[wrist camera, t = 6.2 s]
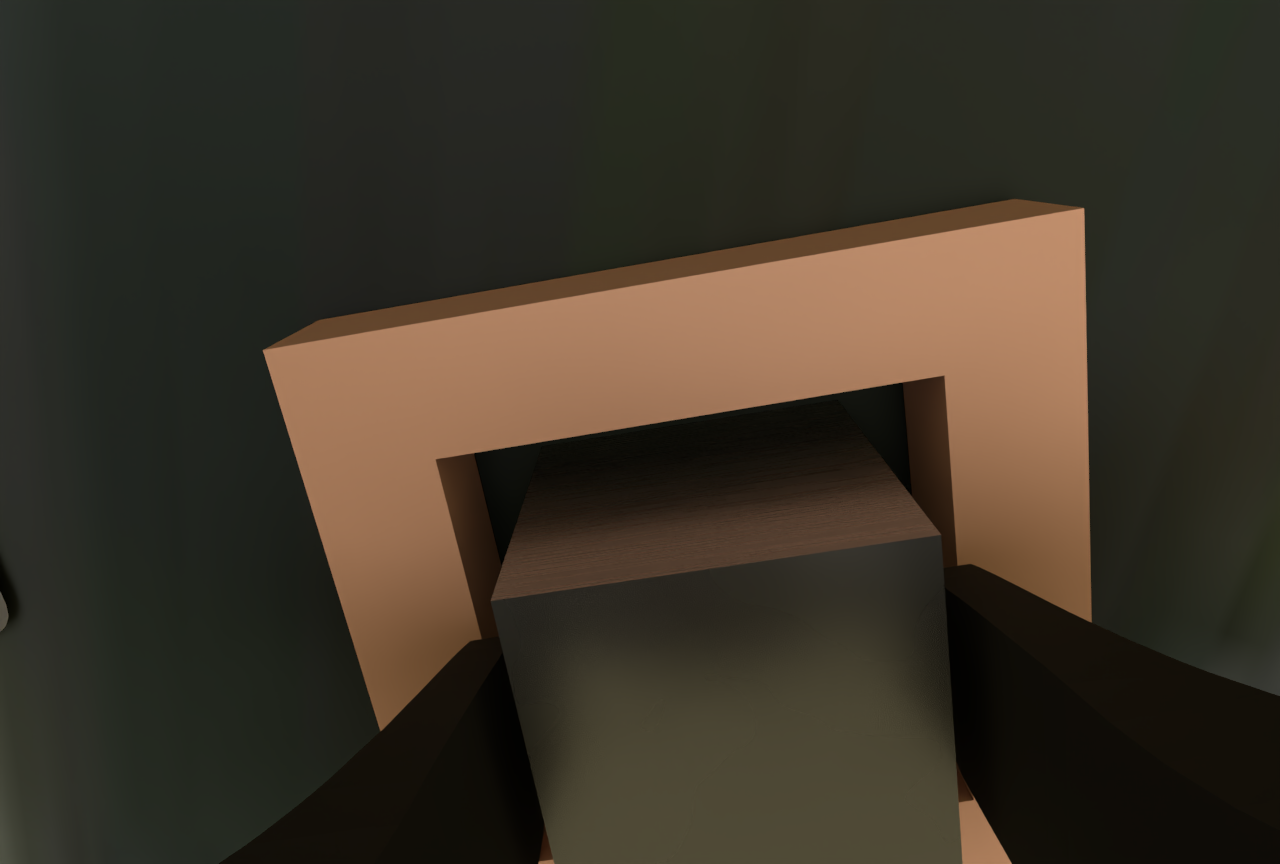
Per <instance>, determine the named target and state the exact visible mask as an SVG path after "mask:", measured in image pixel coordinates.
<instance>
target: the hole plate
mask: <svg viewBox="0 0 1280 864" xmlns="http://www.w3.org/2000/svg"><path fill="white" fill-rule="evenodd" d="M263 352H264V355H265V359H266V362H267V365H268V368H269V372H270V375H271V378H272V381H273V385H274V388H275V391H276V394H277V398H278V401H279V404H280V407H281V410H282V414H283V417H284V420H285V423H286V427H287V430H288V433H289V436H290V440H291V443H292V446H293V449H294V453H295V456H296V459H297V462H298V466H299V469H300V472H301V475H302V479H303V482H304V485H305V488H306V491H307V495H308V498H309V501H310V504H311V508H312V511H313V514H314V517H315V521H316V524H317V527H318V530H319V534H320V537H321V540H322V543H323V547H324V550H325V553H326V556H327V560H328V563H329V566H330V569H331V573H332V576H333V579H334V582H335V585H336V589H337V592H338V595H339V598H340V602H341V605H342V608H343V611H344V615H345V618H346V621H347V624H348V628H349V631H350V634H351V637H352V641H353V644H354V647H355V650H356V654H357V657H358V660H359V663H360V666H361V670H362V673H363V676H364V679H365V683H366V686H367V689H368V692H369V696H370V699H371V702H372V705H373V709H374V712H375V715H376V718H377V722H378V725H379V728H380V731H382V730H383V729H384V728H385V727H386V726H387V725H388V724H389V723H390V722H391V721H392V720H393V719H394V718H395V717H396V716H397V715H398V713H399V712H400V711H401V710H402V709H403V708H404V707H405V706H406V705H407V704H408V703H409V702H410V701H411V700H412V699H413V698H414V697H415V696H416V695H417V694H418V693H419V692H420V691H421V690H422V689H423V688H424V687H425V686H426V685H427V684H428V683H429V682H430V680H431V679H432V678H433V677H434V676H435V675H436V674H437V673H438V672H439V671H440V670H441V669H442V668H443V667H444V666H445V665H446V664H447V663H448V662H449V661H450V660H451V659H452V658H453V657H454V656H455V655H456V654H457V653H458V652H459V651H460V650H461V649H462V648H463V647H464V646H465V645H466V644H467V643H468V642H470V641H473V640H479V639H486V638H492V637H499V634H498V630H497V626H496V622H495V618H494V613H493V609H492V605H491V598H492V595H493V592H494V589H495V586H496V583H497V580H498V577H499V574H500V571H501V568H502V566H501V562H500V558H499V554H498V550H497V546H496V542H495V538H494V533H493V529H492V525H491V521H490V517H489V513H488V509H487V505H486V501H485V496H484V492H483V488H482V484H481V480H480V476H479V472H478V468H477V463H476V459H475V455H474V453H478V452H484V451H490V450H496V449H502V448H508V447H514V446H520V445H526V444H532V443H538V442H544V441H550V440H556V439H562V438H568V437H574V436H581V435H587V434H593V433H599V432H605V431H611V430H617V429H623V428H629V427H635V426H641V425H647V424H653V423H659V422H665V421H671V420H678V419H684V418H690V417H696V416H702V415H708V414H714V413H720V412H726V411H732V410H738V409H744V408H750V407H756V406H762V405H768V404H774V403H781V402H787V401H793V400H799V399H805V398H811V397H817V396H823V395H829V394H835V393H841V392H847V391H853V390H859V389H865V388H871V387H878V386H884V385H890V384H896V383H902V382H903V393H904V405H905V417H906V429H907V441H908V452H909V464H910V476H911V488H912V497H913V499H914V500H915V501H916V503H917V504H918V505H919V507H920V508H921V509H922V510H923V512H924V513H925V514H926V516H927V517H928V518H929V520H930V521H931V522H932V523H933V525H934V526H935V527H936V529H937V530H938V531H939V533H940V534H941V539H942V555H943V568H946V567H953V566H959V565H966V564H973V565H975V566H978V567H980V568H982V569H984V570H987V571H989V572H991V573H993V574H995V575H997V576H999V577H1001V578H1003V579H1005V580H1007V581H1009V582H1011V583H1013V584H1015V585H1017V586H1019V587H1021V588H1023V589H1025V590H1027V591H1029V592H1031V593H1033V594H1035V595H1037V596H1038V597H1040V598H1042V599H1044V600H1046V601H1048V602H1050V603H1052V604H1054V605H1056V606H1058V607H1060V608H1062V609H1064V610H1066V611H1068V612H1070V613H1072V614H1074V615H1077V616H1079V617H1081V618H1083V619H1085V620H1087V621H1089V622H1091V623H1092V616H1091V561H1090V506H1089V450H1088V395H1087V340H1086V285H1085V229H1084V208H1080V207H1072V206H1065V205H1057V204H1050V203H1042V202H1035V201H1027V200H1020V199H1011V200H1006V201H1000V202H994V203H988V204H983V205H977V206H971V207H965V208H960V209H954V210H948V211H943V212H937V213H931V214H925V215H920V216H914V217H908V218H902V219H897V220H891V221H885V222H879V223H874V224H868V225H862V226H856V227H851V228H845V229H839V230H833V231H828V232H822V233H816V234H811V235H805V236H799V237H793V238H788V239H782V240H776V241H770V242H765V243H759V244H753V245H747V246H742V247H736V248H730V249H724V250H719V251H713V252H707V253H701V254H696V255H690V256H684V257H679V258H673V259H667V260H661V261H656V262H650V263H644V264H638V265H633V266H627V267H621V268H615V269H610V270H604V271H598V272H592V273H587V274H581V275H575V276H569V277H564V278H558V279H552V280H546V281H541V282H535V283H529V284H524V285H518V286H512V287H506V288H501V289H495V290H489V291H483V292H478V293H472V294H466V295H460V296H455V297H449V298H443V299H437V300H432V301H426V302H420V303H414V304H409V305H403V306H397V307H392V308H386V309H380V310H374V311H369V312H363V313H357V314H351V315H346V316H340V317H334V318H328V319H323V320H318V321H316V322H314V323H313V324H311V325H309V326H307V327H305V328H303V329H301V330H300V331H298V332H296V333H294V334H292V335H290V336H288V337H286V338H285V339H283V340H281V341H279V342H277V343H275V344H273V345H272V346H270V347H268V348H266V349H264V350H263ZM956 770H957V785H958V800H959V816H960V831H961V846H962V862H963V864H1012V863H1011V861H1010V860H1009V858H1008V856H1007V854H1006V853H1005V851H1004V849H1003V847H1002V846H1001V844H1000V842H999V840H998V839H997V837H996V835H995V833H994V832H993V830H992V828H991V826H990V825H989V823H988V821H987V819H986V818H985V816H984V814H983V812H982V810H981V809H980V807H979V805H978V803H977V802H976V800H975V798H974V796H973V794H972V793H971V791H970V789H969V787H968V785H967V784H966V782H965V780H964V778H963V776H962V774H961V772H960V770H959V767H958V765H957V762H956ZM538 864H554V861H553V857H552V853H551V848H550V844H549V840H548V836H547V832H546V828H545V824H544V832H543V840H542V846H541V852H540V858H539V863H538Z"/></svg>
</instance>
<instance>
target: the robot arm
mask: <svg viewBox="0 0 1280 864" xmlns="http://www.w3.org/2000/svg"><path fill="white" fill-rule="evenodd" d="M943 570H944V585H945V601H946V616H947V632H948V647H949V662H950V678H951V693H952V708H953V724H954V739H955V754H956V762H957V765H958V767H959V770H960V772H961V774H962V776H963V778H964V780H965V782H966V784H967V785H968V787H969V789H970V791H971V793H972V794H973V796H974V798H975V800H976V802H977V803H978V805H979V807H980V809H981V810H982V812H983V814H984V816H985V818H986V819H987V821H988V823H989V825H990V826H991V828H992V830H993V832H994V833H995V835H996V837H997V839H998V840H999V842H1000V844H1001V846H1002V847H1003V849H1004V851H1005V853H1006V854H1007V856H1008V858H1009V860H1010V861H1011V863H1012V864H1280V696H1277V695H1274V694H1271V693H1268V692H1265V691H1262V690H1259V689H1256V688H1253V687H1250V686H1247V685H1244V684H1242V683H1239V682H1236V681H1233V680H1230V679H1227V678H1224V677H1221V676H1218V675H1215V674H1212V673H1209V672H1207V671H1204V670H1201V669H1199V668H1196V667H1193V666H1191V665H1188V664H1186V663H1183V662H1180V661H1178V660H1175V659H1173V658H1171V657H1168V656H1166V655H1164V654H1161V653H1159V652H1156V651H1154V650H1152V649H1149V648H1147V647H1145V646H1142V645H1140V644H1137V643H1135V642H1133V641H1130V640H1128V639H1126V638H1124V637H1121V636H1119V635H1117V634H1115V633H1113V632H1110V631H1108V630H1106V629H1104V628H1102V627H1099V626H1097V625H1095V624H1093V623H1091V622H1089V621H1087V620H1085V619H1083V618H1081V617H1079V616H1077V615H1074V614H1072V613H1070V612H1068V611H1066V610H1064V609H1062V608H1060V607H1058V606H1056V605H1054V604H1052V603H1050V602H1048V601H1046V600H1044V599H1042V598H1040V597H1038V596H1037V595H1035V594H1033V593H1031V592H1029V591H1027V590H1025V589H1023V588H1021V587H1019V586H1017V585H1015V584H1013V583H1011V582H1009V581H1007V580H1005V579H1003V578H1001V577H999V576H997V575H995V574H993V573H991V572H989V571H987V570H984V569H982V568H980V567H978V566H975V565H973V564H966V565H959V566H953V567H946V568H943ZM8 616H9V615H8V611H7V606H6V603H5V601H4V599H3V596H2V594H1V592H0V632H1V631H2V630H3V629H4V628H5V626H6V624H7V620H8ZM543 832H544V820H543V815H542V811H541V807H540V803H539V799H538V795H537V791H536V787H535V782H534V778H533V774H532V770H531V766H530V762H529V758H528V754H527V749H526V745H525V741H524V737H523V733H522V729H521V725H520V721H519V717H518V712H517V708H516V704H515V700H514V696H513V692H512V688H511V684H510V679H509V675H508V671H507V667H506V663H505V659H504V655H503V651H502V646H501V642H500V638H499V637H492V638H486V639H479V640H473V641H470V642H468V643H467V644H466V645H465V646H464V647H463V648H462V649H461V650H460V651H459V652H458V653H457V654H456V655H455V656H454V657H453V658H452V659H451V660H450V661H449V662H448V663H447V664H446V665H445V666H444V667H443V668H442V669H441V670H440V671H439V672H438V673H437V674H436V675H435V676H434V677H433V678H432V679H431V680H430V682H429V683H428V684H427V685H426V686H425V687H424V688H423V689H422V690H421V691H420V692H419V693H418V694H417V695H416V696H415V697H414V698H413V699H412V700H411V701H410V702H409V703H408V704H407V705H406V706H405V707H404V708H403V709H402V710H401V711H400V712H399V713H398V715H397V716H396V717H395V718H394V719H393V720H392V721H391V722H390V723H389V724H388V725H387V726H386V727H385V728H384V729H383V730H382V731H381V732H379V733H378V734H377V735H376V736H375V737H374V738H373V739H372V740H371V741H370V742H369V743H368V744H367V745H366V746H364V747H363V748H362V749H361V750H360V751H359V752H358V753H357V754H356V755H355V756H354V757H353V758H352V759H350V760H349V761H348V762H347V763H346V764H345V765H344V766H343V767H342V768H341V769H340V770H339V771H338V772H337V773H335V774H334V775H333V776H332V777H331V778H330V779H329V780H328V781H327V782H325V783H324V784H323V785H322V786H321V787H320V788H318V789H317V790H316V791H315V792H314V793H313V794H311V795H310V796H309V797H308V798H306V799H305V800H304V801H303V802H302V803H300V804H299V805H298V806H297V807H295V808H294V809H293V810H292V811H290V812H289V813H288V814H286V815H285V816H284V817H283V818H281V819H280V820H279V821H277V822H276V823H275V824H274V825H272V826H271V827H270V828H268V829H267V830H266V831H265V832H263V833H262V834H261V835H259V836H258V837H257V838H255V839H254V840H252V841H251V842H250V843H248V844H247V845H246V846H244V847H243V848H241V849H240V850H238V851H237V852H235V853H234V854H232V855H231V856H229V857H228V858H226V859H225V860H223V861H222V862H220V863H219V864H538V863H539V858H540V852H541V846H542V840H543Z"/></svg>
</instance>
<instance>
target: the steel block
mask: <svg viewBox="0 0 1280 864" xmlns="http://www.w3.org/2000/svg"><path fill="white" fill-rule="evenodd" d="M491 605H492V609H493V613H494V618H495V622H496V626H497V630H498V634H499V638H500V642H501V646H502V651H503V655H504V659H505V663H506V667H507V671H508V675H509V679H510V684H511V688H512V692H513V696H514V700H515V704H516V708H517V712H518V717H519V721H520V725H521V729H522V733H523V737H524V741H525V745H526V749H527V754H528V758H529V762H530V766H531V770H532V774H533V778H534V782H535V787H536V791H537V795H538V799H539V803H540V807H541V811H542V815H543V820H544V824H545V828H546V832H547V836H548V840H549V844H550V848H551V853H552V857H553V861H554V864H963V862H962V846H961V831H960V816H959V800H958V785H957V770H956V754H955V739H954V724H953V708H952V693H951V678H950V662H949V647H948V632H947V616H946V601H945V585H944V570H943V555H942V539H941V534H940V533H939V531H938V530H937V529H936V527H935V526H934V525H933V523H932V522H931V521H930V520H929V518H928V517H927V516H926V514H925V513H924V512H923V510H922V509H921V508H920V507H919V505H918V504H917V503H916V501H915V500H914V499H913V497H912V496H911V495H910V494H909V492H908V491H907V490H906V488H905V487H904V486H903V485H902V483H901V482H900V481H899V479H898V478H897V477H896V475H895V474H894V473H893V472H892V470H891V469H890V468H889V466H888V465H887V464H886V462H885V461H884V460H883V459H882V457H881V456H880V455H879V453H878V452H877V451H876V449H875V448H874V447H873V446H872V444H871V443H870V442H869V440H868V439H867V438H866V436H865V435H864V434H863V433H862V431H861V430H860V429H859V427H858V426H857V425H856V423H855V422H854V421H853V420H852V418H851V417H850V416H849V414H848V413H847V412H846V410H845V409H844V408H843V407H842V405H841V404H840V403H839V401H838V400H834V401H828V402H821V403H815V404H808V405H802V406H796V407H789V408H783V409H777V410H770V411H764V412H758V413H751V414H745V415H739V416H732V417H726V418H719V419H713V420H707V421H700V422H694V423H688V424H681V425H675V426H669V427H662V428H656V429H650V430H643V431H637V432H631V433H624V434H618V435H611V436H605V437H599V438H592V439H586V440H580V441H573V442H567V443H561V444H554V445H548V446H542V448H541V451H540V454H539V457H538V460H537V463H536V466H535V469H534V472H533V475H532V478H531V481H530V484H529V487H528V490H527V493H526V496H525V499H524V502H523V505H522V508H521V511H520V514H519V517H518V520H517V523H516V526H515V529H514V532H513V535H512V538H511V541H510V544H509V547H508V550H507V553H506V556H505V559H504V562H503V565H502V568H501V571H500V574H499V577H498V580H497V583H496V586H495V589H494V592H493V595H492V598H491Z"/></svg>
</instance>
